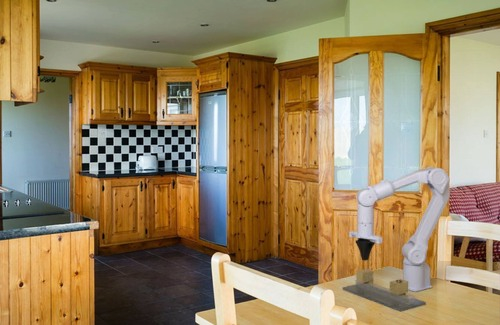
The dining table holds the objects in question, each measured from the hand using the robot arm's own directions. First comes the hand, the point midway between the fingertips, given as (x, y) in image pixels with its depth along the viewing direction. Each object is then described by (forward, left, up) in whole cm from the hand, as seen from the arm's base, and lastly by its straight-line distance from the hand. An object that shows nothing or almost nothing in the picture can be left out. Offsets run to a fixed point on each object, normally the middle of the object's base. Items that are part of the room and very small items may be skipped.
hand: (365, 259), depth 174 cm
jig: (+3, +11, -10) cm, 15 cm away
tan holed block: (+2, +17, -9) cm, 20 cm away
